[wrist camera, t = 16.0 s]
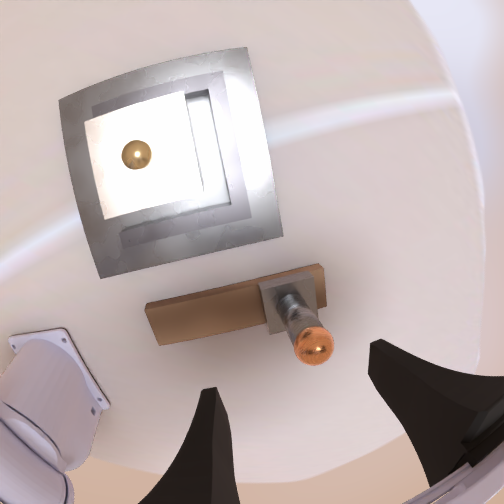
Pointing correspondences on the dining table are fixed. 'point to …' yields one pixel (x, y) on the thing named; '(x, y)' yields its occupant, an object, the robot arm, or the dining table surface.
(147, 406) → the dining table surface
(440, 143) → the dining table surface
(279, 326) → the lever
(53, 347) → the robot arm
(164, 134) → the block
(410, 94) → the dining table surface
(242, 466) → the dining table surface
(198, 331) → the rail
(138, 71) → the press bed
